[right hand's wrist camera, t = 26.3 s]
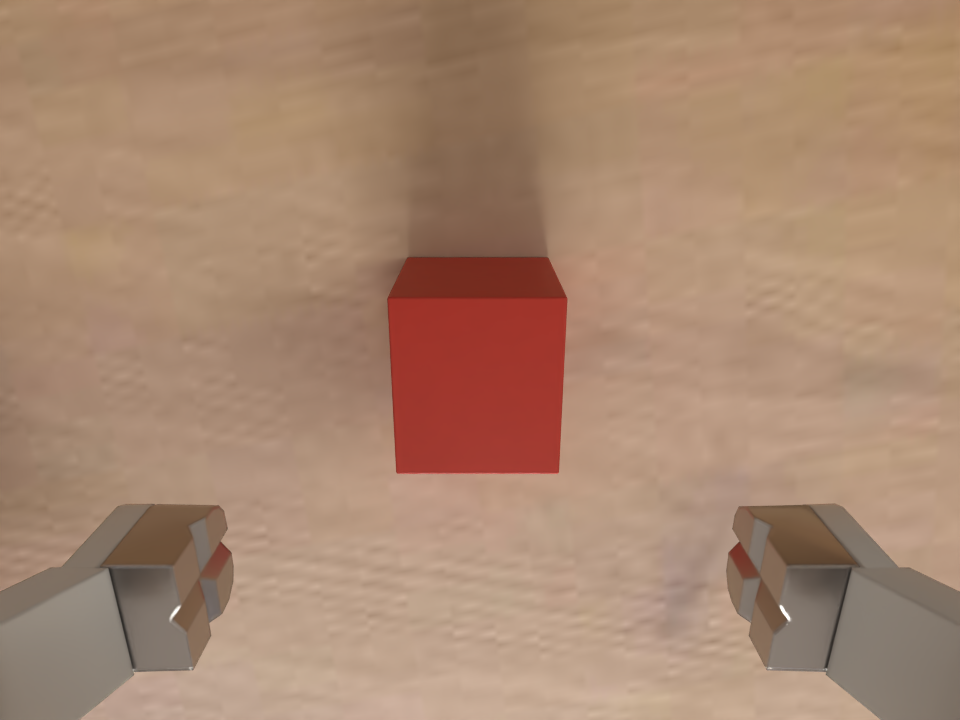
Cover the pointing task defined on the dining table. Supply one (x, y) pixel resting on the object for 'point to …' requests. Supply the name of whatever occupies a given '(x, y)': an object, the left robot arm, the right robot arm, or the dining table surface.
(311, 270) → the dining table surface
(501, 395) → the block
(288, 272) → the dining table surface
